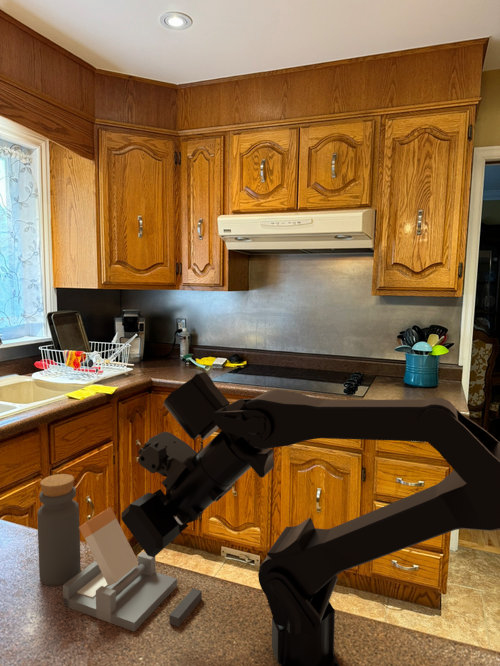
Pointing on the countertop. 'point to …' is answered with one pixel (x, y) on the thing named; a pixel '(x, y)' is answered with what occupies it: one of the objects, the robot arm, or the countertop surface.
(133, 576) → the lever
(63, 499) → the bottle
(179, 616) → the long grey bar
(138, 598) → the grey twin-post base
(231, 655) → the countertop surface
